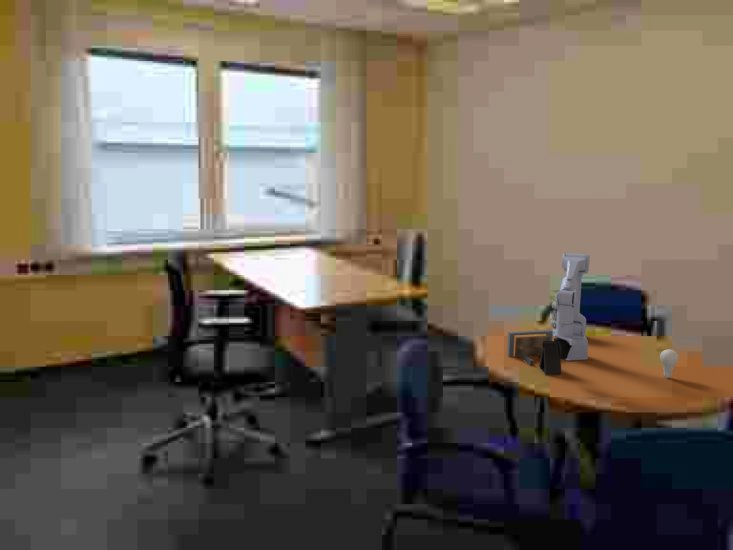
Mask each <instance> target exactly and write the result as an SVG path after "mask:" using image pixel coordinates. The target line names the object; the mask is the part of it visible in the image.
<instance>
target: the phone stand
mask: <svg viewBox="0 0 733 550" xmlns="http://www.w3.org/2000/svg"><path fill="white" fill-rule="evenodd" d="M561 360H562V359H561V358H559V356H558V350H557V346H556V344H555V341H554V340H552V341H543V347H542V353H541V356H540V359H539V363H538V364H539V366H538V367H540V368H539V369H540V370H541V372H542V373H543V372H544V373H543V374H544V376H562V361H561Z"/></svg>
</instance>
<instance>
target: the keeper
mask: <svg viewBox="0 0 733 550" xmlns="http://www.w3.org/2000/svg"><path fill="white" fill-rule="evenodd" d="M541 353H542V352H541ZM521 358H522V360H523V361H524V360H525V361H526V362H527V363H526V362H525V361H524V362H525V363H526V364H527V365H529V366H530V365H531V366H534V360H533V359H532V358H531V357H530V356H529V357H528V356H527V355H526V354H524V353H522V354H521V357H520V359H521Z"/></svg>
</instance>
